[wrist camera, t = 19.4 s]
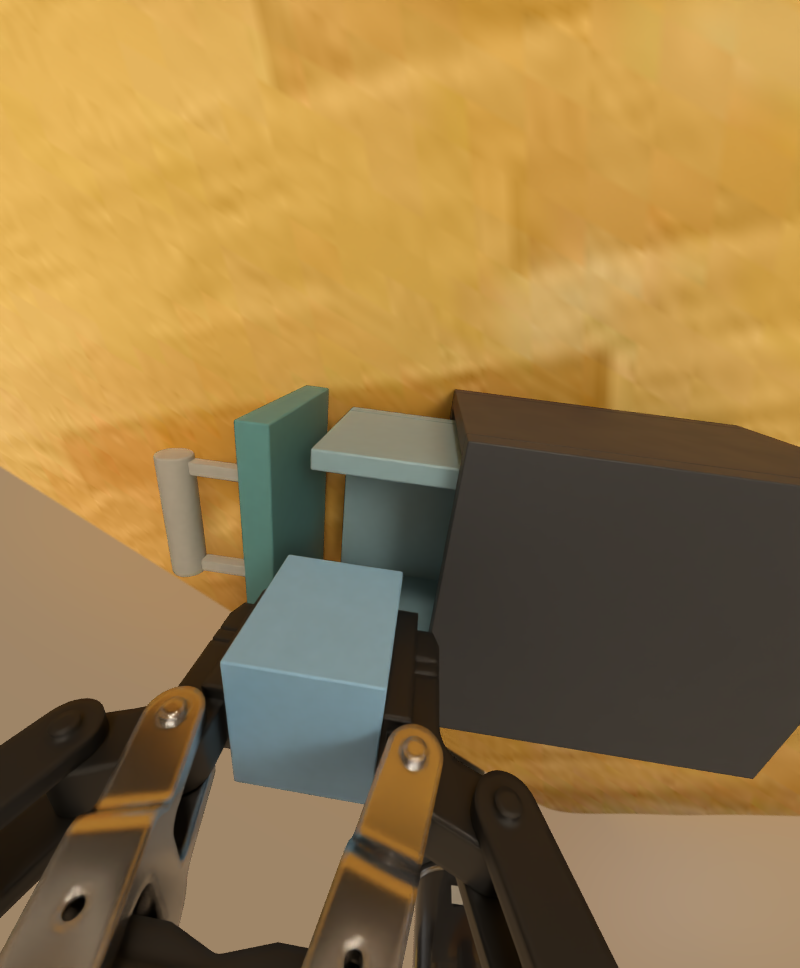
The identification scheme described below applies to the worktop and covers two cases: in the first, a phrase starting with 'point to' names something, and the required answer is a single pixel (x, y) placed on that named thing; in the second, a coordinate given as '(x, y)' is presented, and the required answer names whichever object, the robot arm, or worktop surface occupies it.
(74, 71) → the worktop surface
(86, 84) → the worktop surface
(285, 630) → the pale blue rectangular block
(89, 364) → the worktop surface
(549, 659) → the dark grey drawer cabinet
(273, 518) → the teal drawer
